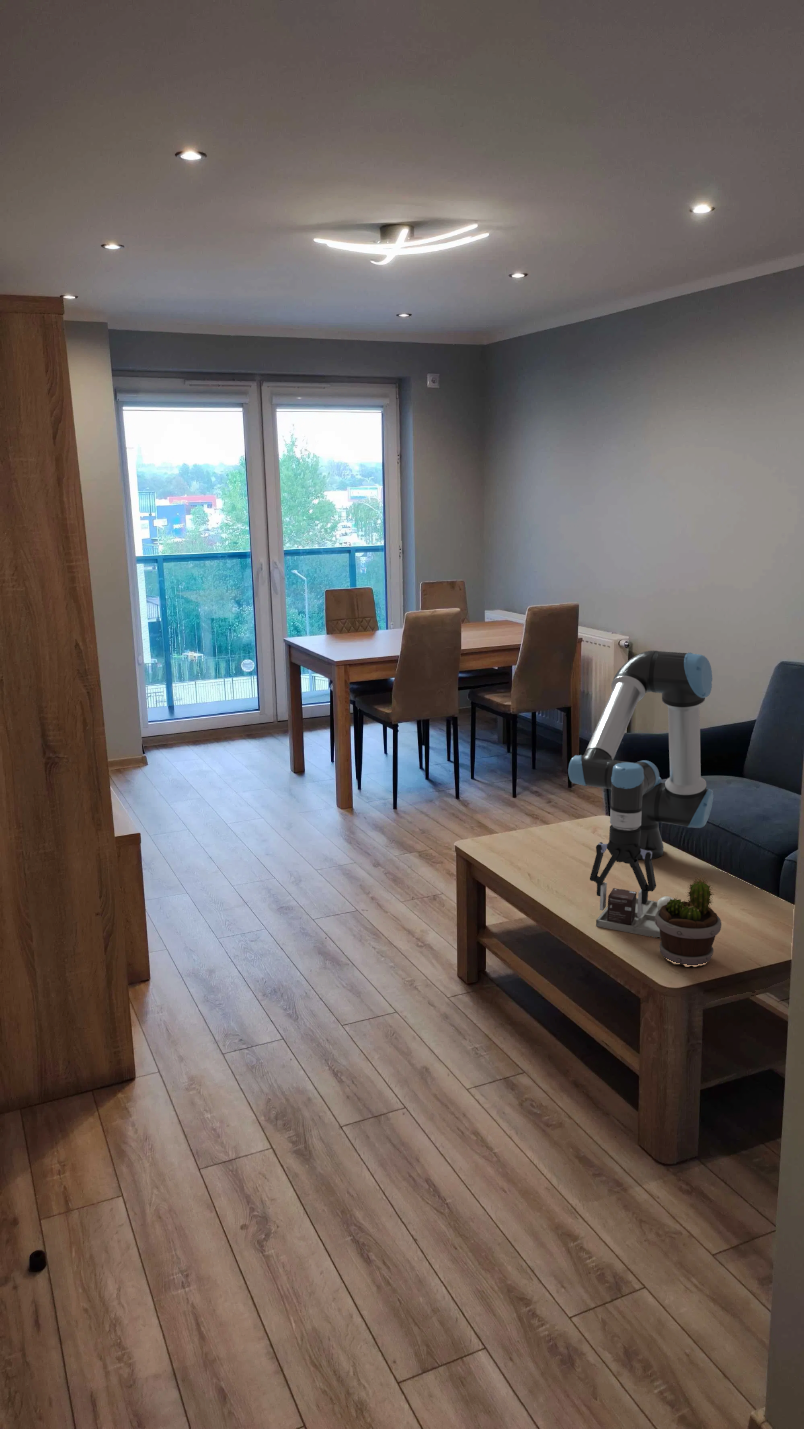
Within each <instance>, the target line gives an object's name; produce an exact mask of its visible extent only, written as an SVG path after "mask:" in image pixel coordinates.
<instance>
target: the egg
mask: <svg viewBox="0 0 804 1429" xmlns="http://www.w3.org/2000/svg"><path fill="white" fill-rule="evenodd" d="M669 897H670V898H671V899H672V900H674V897H671V896H668V895H666V896H665V895H664V896H662V897H660V898H659V899H658V900H657V908H658V910H660V909H661V907H662V906H664V905H666V904H667V902H669V901H670V898H669Z"/></svg>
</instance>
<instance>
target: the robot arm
mask: <svg viewBox="0 0 804 1429" xmlns="http://www.w3.org/2000/svg"><path fill="white" fill-rule="evenodd" d="M712 682H713V671H712V666H711V663H710V661H709V659H708V658H707V657H706V656H705V655H703V654H697V653H693V652H677V651H675V652H674V651H664V650H663V651H662V650H647V651H643V652H641V653H640V652H639V653H638V654H636V655H635V656H633V657H631V658H630V659H629V660H627V661H626V662H625V663H624V664H622V665H621V667H619V669H618V670H617V672H616V673H615V675H614V677H613V679H612V681H611V684H610V686H611V693H610V695H609V697H608V699H607V701H606V704H605V706H604V709H603V711H602V712H601V715H600V718H599V720H598V722H597V725H596V727H595V729H594V731H593V734H592V736H591V738H590V740H589V743H588V745H587V748H586V749H585V752H584V754H583V755H582V754H580V755H579V754H578V755H577V754H575V755H574V756H573V757H571V759H570V761H569V763H568V769H567V772H568V777H569V781H570V782H571V783H572V784H576V785H580V786H584V787H594V788H600V789H609V790H610V791H611V793H610V810H609V811H610V812H609V813H610V817H609V823H610V826H609V833H608V834H609V836H608V843H603V842H602V841H601V842H599V843H597V845H596V846H595V854H596V855H595V858H594V862H593V865H592V869H591V873H590V876H589V881H591V882H594V883H595V884H596V896H597V897H600V898H599V911H602V912H603V911H604V910H605V909H606V908H607V907H606V906H607V889H608V888H607V887H608V886H607V885H608V884H607V883H608V882H604V881H605V880H606V878H607V876H608V874H609V873H610V871H611V869H612V868H613V866H614V864H615V863H624V864H627V865H629V867H630V868H631V869H632V872H633V874H634V875H635V879H636V882H637V883H638V885H639V888H640V890H638V893H637V898H638V910H637V917H641V916H642V914H643V904H646V903H647V901H648V900H649V892H653V891H654V890H655V889H656V888H657V883H656V876H655V872H654V865H653V859H654V860H655V859H658V858H659V857H662V856H663V855H664V843H663V839H662V836H661V832H660V828H659V827H660V823H662V824H670V825H676V826H682V827H686V828H689V829H690V828H696V829H701V828H703V827H705V825H706V824H707V822H708V820H709V817H710V815H711V811H712V807H713V803H714V791H713V790H712V789H710V788H707V781H706V780H705V779H704V778H703V777H701V776H702V775H701V774H702V773H701V765H702V764H701V716H700V715H701V708H700V707H701V705H703V704H704V703H705V701H706V698H707V697H709V696H710V694H711V691H712V688H713V683H712ZM646 693H647V694H648V693H655V694H656V693H657V694H661V701H662V703H663V705H665V706H667V718H668V719H667V722H668V723H667V724H668V725H667V726H668V750H669V752H668V754H669V757H668V758H669V777H667V779H666V780H665V782H663V780H662V778H661V777H660V772H659V769H658V767H657V765H655V763H653V762H651V761H649V760H646V759H645V760H639V761H637V762H630V761H622V760H615V757H616V754H617V751H618V749H619V747H620V744H621V742H622V739H623V738H624V735H625V733H626V731H627V728H628V726H629V723H630V721H631V719H632V717H633V714H634V712H635V709H636V707H637V705H638V703H639V701H641V700H642V699H643V698H644V697H645V696H646ZM606 851H608V853H609V854H610V855H611V856H610V858H609V859H608V861H607V863H606V866H605V867H604V868H603V870H602V871H601V873H600V875H598V874H599V871H600V868H601V864H602V860H603V857H604V855H605V854H604V853H605V852H606ZM639 860H644V869H645V875H646V877H645V875H644V872H643V870H642V868H641V865H640V862H639ZM646 878H647V879H646Z"/></svg>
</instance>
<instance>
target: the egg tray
mask: <svg viewBox="0 0 804 1429" xmlns="http://www.w3.org/2000/svg"><path fill="white" fill-rule="evenodd" d="M657 902H658V900H656V901H655V900H651V899H648V901H647V903H646V904H643V914H642V916H641V917H637V910H638V897H636V909H635V918H634V921H633V922H632V924H631V926H630V925H625V924H619V923H614V922H609V921H607V911H608V905H606V906H607V907H605V908H604V910H603V911H602V913H600V915H599V916H598V917H597V919H596V922H595V927H599V928H604V929H609V930H614V931H619V932H620V931H621V932H625V933H630V934H635V935H640V936H646V937H650V936H653V937H652V938H655V937H660V929H659V928H658V927H657V926H656V924H655V915H656V913H657V912H658V908H657ZM660 938H661V937H660ZM660 938H659V939H660Z"/></svg>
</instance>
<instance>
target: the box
mask: <svg viewBox="0 0 804 1429" xmlns="http://www.w3.org/2000/svg"><path fill="white" fill-rule="evenodd" d="M637 895H638V893H637V891H633V890H628V889H622V888H615V887H614V888H612V889H611V891H610V893H609V895H607V906H608V911H607V921H609V922H614V923H619V924H625V925H630V926H631V924H632V922H633V921H634V918H635V909H636V898H637Z"/></svg>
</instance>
